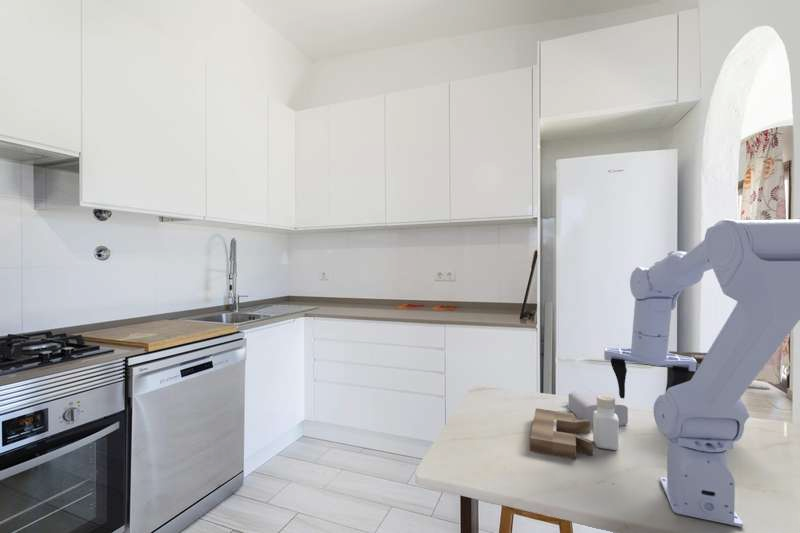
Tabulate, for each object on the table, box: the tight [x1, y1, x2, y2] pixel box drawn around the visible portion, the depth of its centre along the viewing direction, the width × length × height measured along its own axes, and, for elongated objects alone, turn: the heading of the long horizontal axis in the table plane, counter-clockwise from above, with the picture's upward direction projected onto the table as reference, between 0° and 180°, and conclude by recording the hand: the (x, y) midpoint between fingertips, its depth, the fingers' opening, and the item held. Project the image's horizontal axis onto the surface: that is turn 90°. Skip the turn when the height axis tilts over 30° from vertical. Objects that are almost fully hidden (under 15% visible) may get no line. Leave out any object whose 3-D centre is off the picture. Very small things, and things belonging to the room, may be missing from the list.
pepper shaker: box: [592, 394, 620, 451], centre depth 76 cm, size 4×4×10 cm
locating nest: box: [529, 408, 594, 460], centre depth 79 cm, size 16×11×2 cm
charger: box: [567, 390, 629, 426], centre depth 93 cm, size 5×9×15 cm
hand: (644, 399), depth 75 cm, fingers open, 7 cm apart
